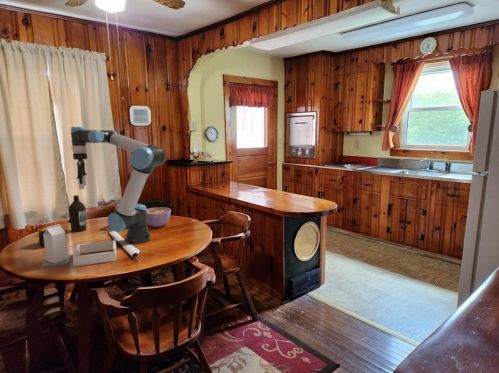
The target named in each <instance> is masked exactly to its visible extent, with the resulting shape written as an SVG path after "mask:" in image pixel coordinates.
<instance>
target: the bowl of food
mask: <svg viewBox="0 0 499 373" xmlns="http://www.w3.org/2000/svg"><path fill="white" fill-rule="evenodd" d="M146 210H147V225H149V226H151V227H153V228H160V227H161V228H162V227H164V226H165V225H167V223H168V222H169V221H170V217H171V212H172V209H171V208H169V207H151V208H146Z"/></svg>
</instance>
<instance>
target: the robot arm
mask: <svg viewBox="0 0 499 373" xmlns="http://www.w3.org/2000/svg"><path fill="white" fill-rule="evenodd" d="M70 135H71V144H72V147H71V149H72V153H73V154H72V158H73V160H77V161H76V167H77V176H76V180H77V182H78V190H85V187H86V186H87V177H86V176H88V174H87V173H86V162H85V160H87V159H88V153H87V152H88V148H87V144H102V143H107V144H109V145H112V146H115V147H118V148H121V149H123V150H126V151H129V152H131V154H130V157H129V158H130V163H131V166H130V167H131V169H132V171H131V175H130V177H129V180H128V183H127V185H126V188H125V190H124V193H123V195H122V198H121V200H120V203H119V204H117V205H116V207H115V209H114V211H113V212H112V213H110V214H109V215H108V216H107V224H108V226H109V228H110V229H111V230H112V231H113V232H116V233H117V232H118V233H120V232H124V231H127V232H126V235H125V242H126V241H127V242H126V243H128V244H144V243H146V242H148V241H150V240H151V239H152V238H151V233H150V231H149V230H150V229H149V228H148V224H147V210H146V209H147V206H146V205H145V204H141V203H140V204H138V201H139V199H140V197H141V194H142V191H143V189H144V187H145V184H146V182H147V179H148V177H149V175H152V174H153V171H154V169H155V167H159V166H161V165H163V164H164V163H165V162H166V160H167V154H166V150H164V149H163V148H162V147H161V146H158V145H155V144H152V143H150V144H147V143H144V142H142V141H138V140H136V139H133V138H131V137H128V136H125V135H122V134H119V133H118V132H116V131H115V130H111V129H108V130H107V129H103V130H101V129H100V130H99V129H88V130H87V129H86V127H84V126H72V127H70Z"/></svg>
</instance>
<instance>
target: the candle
mask: <svg viewBox="0 0 499 373" xmlns="http://www.w3.org/2000/svg"><path fill="white" fill-rule="evenodd" d="M50 226H51V225H49V226H46V227H43V228H40V229H37V234H38V245H39V246H40V247H45V245H44V236H43V234H44V232H45V231H46V230H47V227H50ZM61 227H62V229H63V230H64V231H65V228H64V226H61Z"/></svg>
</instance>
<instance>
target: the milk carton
mask: <svg viewBox="0 0 499 373" xmlns="http://www.w3.org/2000/svg"><path fill="white" fill-rule="evenodd" d="M49 226H50V227H49ZM49 226H46V227H47V230H46V231H45V232H44V234H43V236H44V245H45V246H44V252H45V253H44V254H45V259H46V261H48V262H51V263H57V262H60V261H63V260H65V259H68V258H67V255H68V249H67V239H66V231H65V229H64V230H63V229H62V227H63V226H61V223H58V224H54V225H49Z"/></svg>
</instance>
